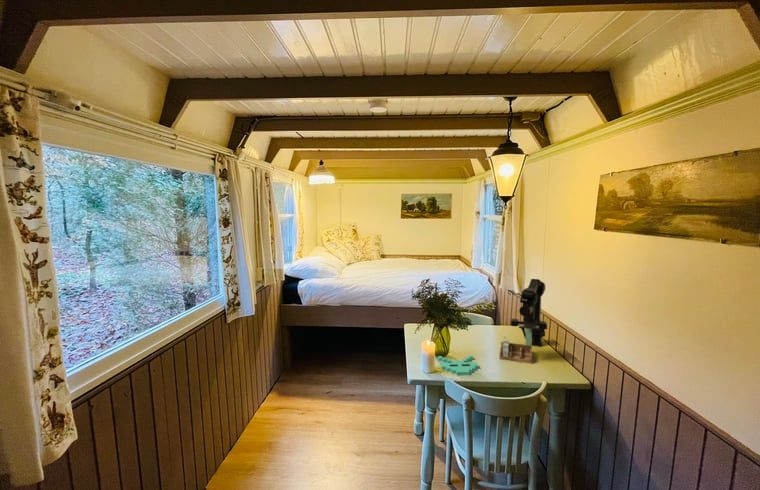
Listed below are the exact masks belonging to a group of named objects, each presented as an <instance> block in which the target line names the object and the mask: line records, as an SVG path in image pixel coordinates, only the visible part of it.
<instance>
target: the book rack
mask: <svg viewBox="0 0 760 490" xmlns="http://www.w3.org/2000/svg"><path fill="white" fill-rule="evenodd" d="M532 348H533V345H526V344H524V343H523V344H521V343H513V342H510V339H508V338H504V339H503V341H501V342H500V348H499V360H504V361H509V362H518V363H524V364H531V365H532V364H533V352H532V351H533V349H532Z"/></svg>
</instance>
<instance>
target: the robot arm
mask: <svg viewBox="0 0 760 490" xmlns="http://www.w3.org/2000/svg"><path fill="white" fill-rule="evenodd" d="M545 291H546V284H545V282H543V281H541V279H539V278H531V279H530V281H529V285H528V287H526V288H524V289H523V290H522V291H521V293H520V299H519V304H522V305H521V307H519V310H518V311H519V314H520V315H521V316H522V317H523V318H522V321H521V320H519V319H518V318H511V320H510V326H511V327H518V328H519V329H521V331H522V334H523V337H524V339H525V338H526V334H525V329H526V328H531V329H532V345H531V346H532V347H533V346H536V347H543V342H542V340H543V338H544V337H546V330H547V329H548V325H547V322H546V321H545V320H543V321H542V320H541V314H542V313H541V311H542V309H541V308H542V296H543V295H544V294H545Z"/></svg>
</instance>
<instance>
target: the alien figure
mask: <svg viewBox="0 0 760 490" xmlns="http://www.w3.org/2000/svg"><path fill="white" fill-rule="evenodd" d="M437 360H438V362H439V361H440V368H441V370H442V371H446V372H447V373H449V372H450V373H451V374H455V375H456V376H470V374H473V373H474V372H476V370H479V367H480V366H479V364H478V363H477V361H473V360H474V356H473V355H472V354H471V355H467V356H466V357H465V358H463V359H462V360H452V359H451V358H450V359H449V358H448V359H447V357H443V356H442V355H437ZM472 361H473V362H472Z"/></svg>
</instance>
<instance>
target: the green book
mask: <svg viewBox="0 0 760 490" xmlns="http://www.w3.org/2000/svg"><path fill="white" fill-rule="evenodd" d="M525 334H526V338H525V337H524V340H525V345H531V346H533V345H532V329H531V328H525Z"/></svg>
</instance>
